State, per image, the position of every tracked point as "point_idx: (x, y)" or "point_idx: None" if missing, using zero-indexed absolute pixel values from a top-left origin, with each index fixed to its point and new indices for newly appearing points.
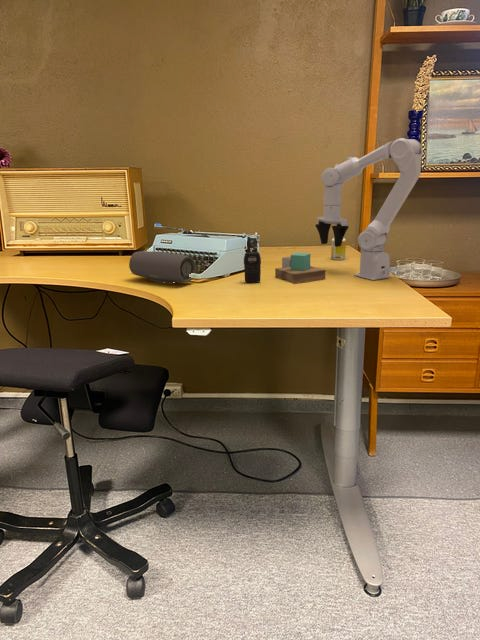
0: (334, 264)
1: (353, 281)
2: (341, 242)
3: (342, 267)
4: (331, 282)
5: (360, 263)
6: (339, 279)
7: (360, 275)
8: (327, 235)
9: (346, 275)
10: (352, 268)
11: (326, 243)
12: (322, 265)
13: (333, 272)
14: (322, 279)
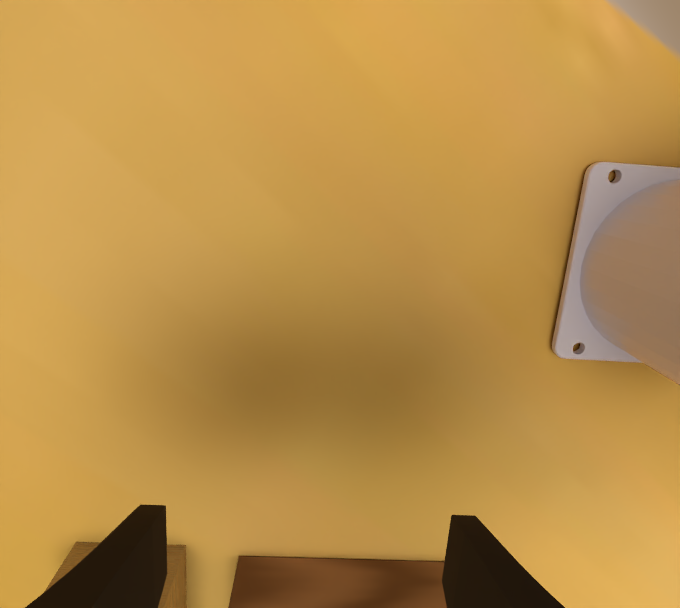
0: (60, 129)
1: (663, 471)
2: (500, 550)
3: (234, 178)
4: (578, 586)
5: (673, 380)
6: (557, 501)
7: (629, 356)
8: (112, 598)
9: (502, 382)
10: (328, 137)
11: (165, 517)
12: (44, 258)
13: (354, 385)
14: None
